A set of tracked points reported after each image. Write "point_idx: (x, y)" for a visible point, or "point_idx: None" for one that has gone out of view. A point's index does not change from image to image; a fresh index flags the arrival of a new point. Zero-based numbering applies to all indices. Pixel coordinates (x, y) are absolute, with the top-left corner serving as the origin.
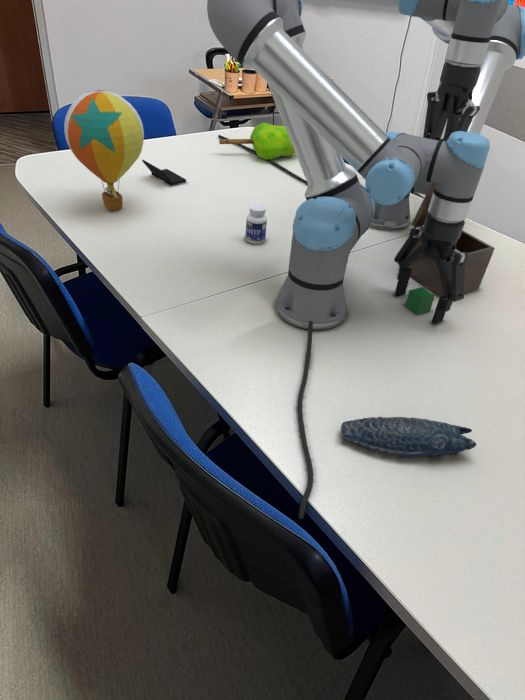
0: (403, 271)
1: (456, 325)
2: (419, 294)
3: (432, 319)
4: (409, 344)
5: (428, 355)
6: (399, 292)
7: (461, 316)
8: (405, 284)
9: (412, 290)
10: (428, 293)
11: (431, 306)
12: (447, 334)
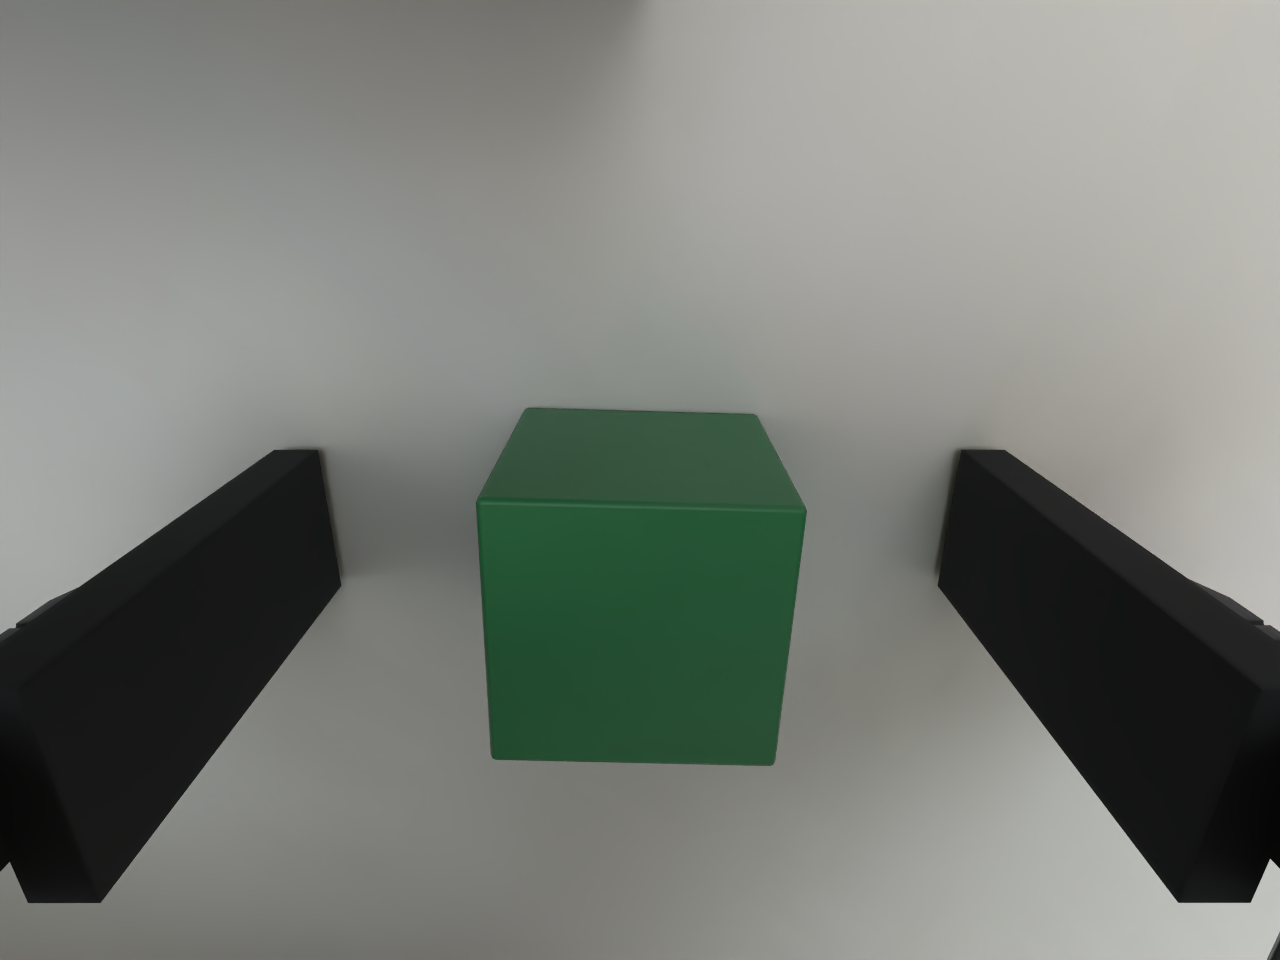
0: (93, 895)
1: (1156, 332)
2: (656, 709)
3: (957, 604)
4: (1024, 932)
5: None
6: (317, 579)
7: (1087, 78)
8: (249, 566)
9: (519, 727)
10: (700, 568)
11: (767, 437)
12: (1176, 563)
